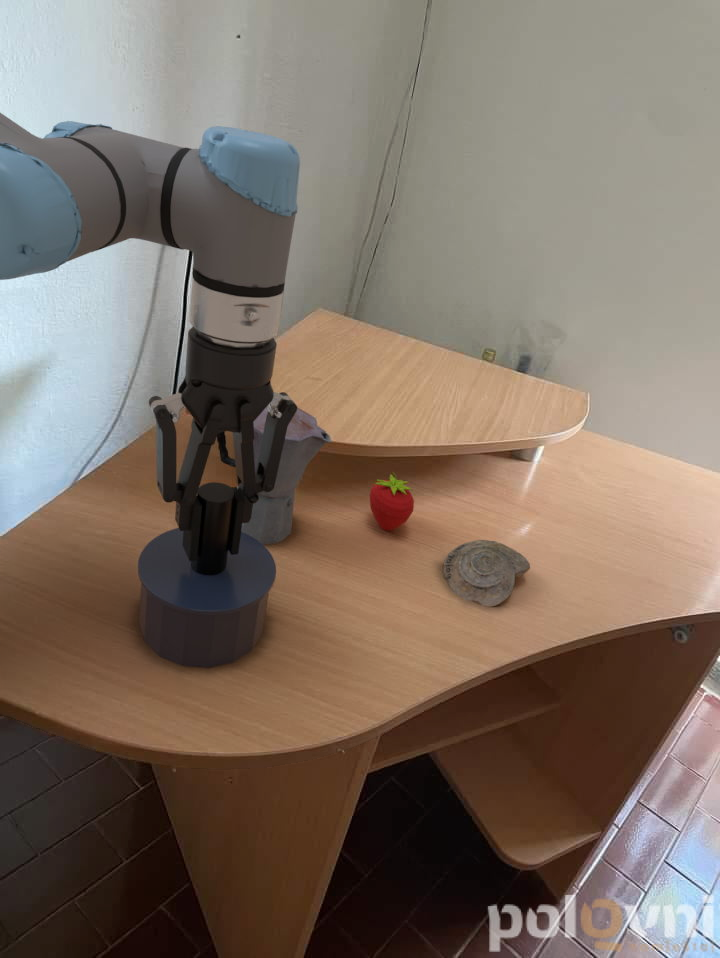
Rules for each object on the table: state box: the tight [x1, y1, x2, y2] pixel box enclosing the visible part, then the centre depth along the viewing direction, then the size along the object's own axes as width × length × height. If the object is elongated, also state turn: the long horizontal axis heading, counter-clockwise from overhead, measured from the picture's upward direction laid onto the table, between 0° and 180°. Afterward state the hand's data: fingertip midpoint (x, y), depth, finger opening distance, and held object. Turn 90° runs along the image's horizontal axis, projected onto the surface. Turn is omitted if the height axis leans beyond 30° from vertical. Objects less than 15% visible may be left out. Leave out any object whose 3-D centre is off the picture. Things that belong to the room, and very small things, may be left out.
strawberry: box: [369, 471, 415, 532], centre depth 97 cm, size 6×8×10 cm
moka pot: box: [216, 406, 332, 545], centre depth 89 cm, size 10×15×20 cm, turn 81°
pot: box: [138, 583, 270, 669], centre depth 75 cm, size 13×13×8 cm
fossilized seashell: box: [442, 539, 531, 608], centre depth 92 cm, size 11×11×7 cm
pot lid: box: [137, 481, 277, 615], centre depth 70 cm, size 14×14×10 cm
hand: (210, 549), depth 71 cm, fingers closed on pot lid, 4 cm apart
